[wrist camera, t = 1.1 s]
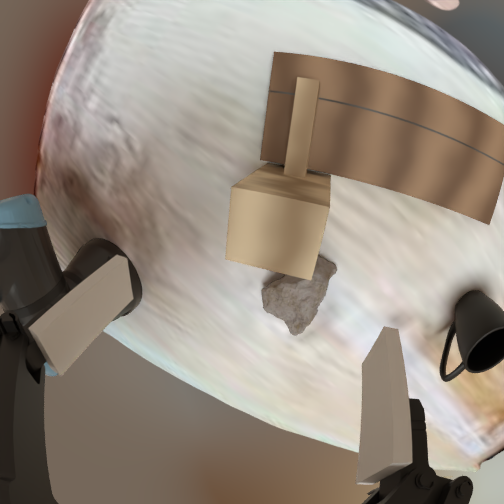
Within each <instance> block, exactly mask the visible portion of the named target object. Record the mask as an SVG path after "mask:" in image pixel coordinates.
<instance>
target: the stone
mask: <svg viewBox="0 0 504 504" xmlns="http://www.w3.org/2000/svg"><path fill="white" fill-rule="evenodd" d="M336 271H337V267H336V266H335V265H334V264H333V263H331V262H328V261H327V260H325V259H323V258H321V257H320V256H318V257H317V261H316V265H315V268H314V272H313V276H312V279H311V280H307V279H303V278H299V277H295V276H290V275H284V276H283V277H282V279H280V280H276V281H274V282H272V283H271V284H269V286H267V287H265V288H263V289H262V300H263V308H264V309H265V311H266V312H267V313H271V314H273V315H274V316H275V317H277V318H280V319H282V320H284V321H285V324H286V325H287V326H288V328H289V331H290V333H291V334H292V335H295V336H296V335H298V334H301V333H302V332H303V331H304V329H305V328H306V326H309V324H310V323H311V321H312V320H313V319H314V317H315V315H316V314H317V311H318V310H317V308H318V306H319V305H320V303H321V302H322V300H323V298H324V296H325V295H326V291H327V287H328V282H329V279H330V278H331V277H332V275H333V274H335V273H336Z"/></svg>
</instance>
